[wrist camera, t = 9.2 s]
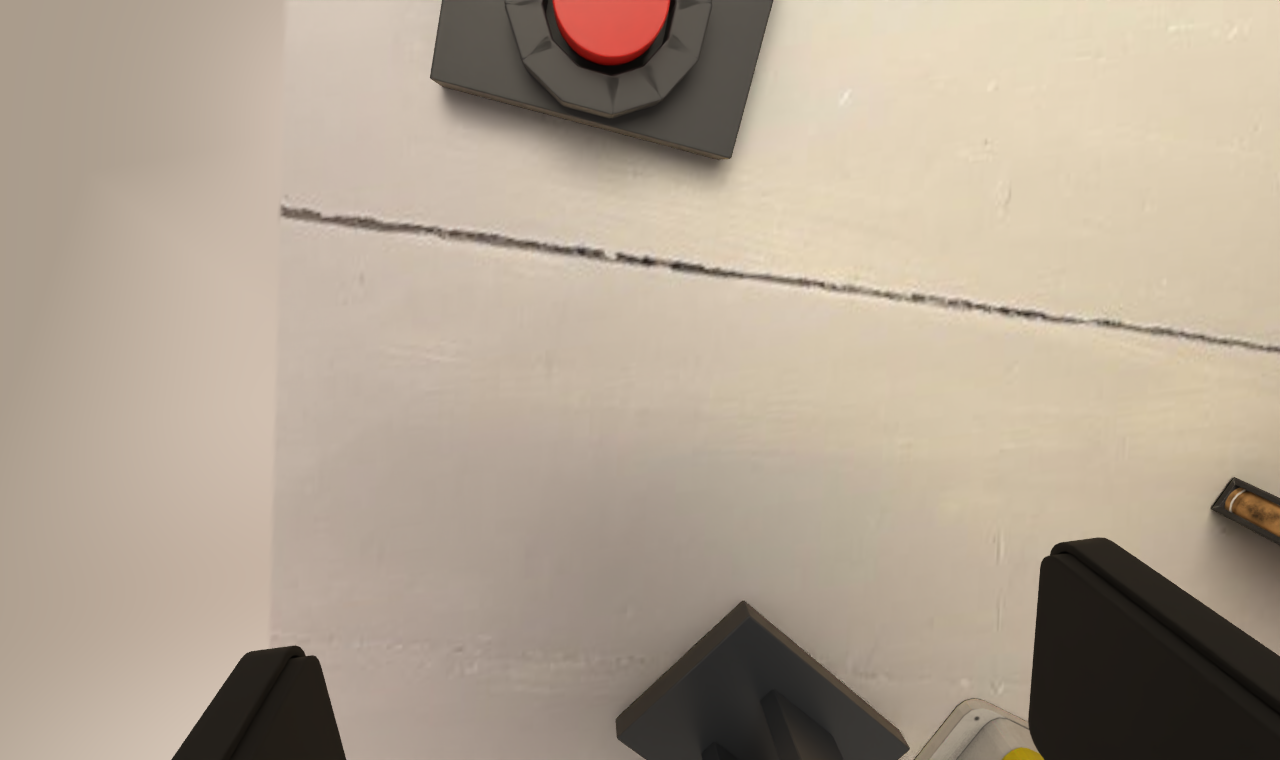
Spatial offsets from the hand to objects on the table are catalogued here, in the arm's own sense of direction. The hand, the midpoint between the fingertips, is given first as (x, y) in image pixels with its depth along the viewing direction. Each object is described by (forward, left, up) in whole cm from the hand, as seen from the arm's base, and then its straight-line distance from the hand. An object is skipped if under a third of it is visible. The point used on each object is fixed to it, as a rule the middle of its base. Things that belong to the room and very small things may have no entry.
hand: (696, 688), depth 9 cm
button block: (-3, +11, -22) cm, 24 cm away
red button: (-3, +11, -18) cm, 21 cm away
